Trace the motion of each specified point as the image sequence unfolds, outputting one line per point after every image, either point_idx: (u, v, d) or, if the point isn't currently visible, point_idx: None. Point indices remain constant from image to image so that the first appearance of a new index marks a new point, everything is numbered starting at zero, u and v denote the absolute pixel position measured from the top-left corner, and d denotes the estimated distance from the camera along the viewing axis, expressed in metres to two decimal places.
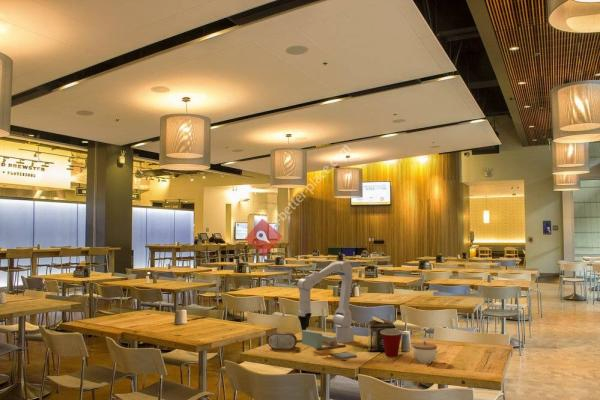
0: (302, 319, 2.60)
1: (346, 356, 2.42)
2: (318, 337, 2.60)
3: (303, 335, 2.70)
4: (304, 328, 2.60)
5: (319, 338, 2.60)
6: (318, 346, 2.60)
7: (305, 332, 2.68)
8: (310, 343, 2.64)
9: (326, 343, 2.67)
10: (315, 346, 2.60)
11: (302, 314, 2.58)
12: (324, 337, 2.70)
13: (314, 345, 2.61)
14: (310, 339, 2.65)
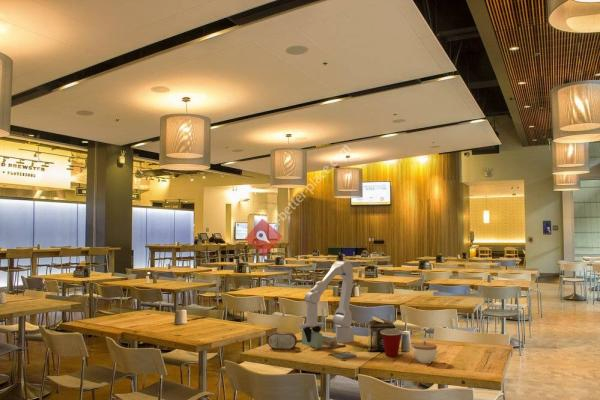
0: (307, 331, 2.66)
1: (346, 356, 2.42)
2: (318, 337, 2.60)
3: (303, 335, 2.70)
4: (308, 340, 2.64)
5: (319, 337, 2.60)
6: (318, 346, 2.60)
7: None
8: (310, 342, 2.64)
9: (326, 343, 2.67)
10: (315, 346, 2.60)
11: (300, 326, 2.63)
12: (324, 337, 2.70)
13: (314, 345, 2.61)
14: None
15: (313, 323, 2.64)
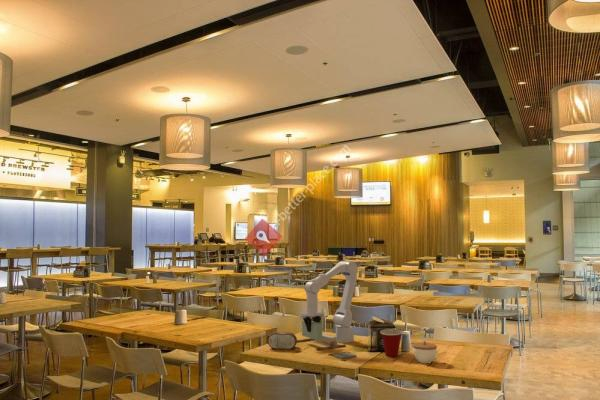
0: (307, 321, 2.66)
1: (346, 356, 2.42)
2: (318, 327, 2.60)
3: (303, 325, 2.70)
4: (308, 330, 2.65)
5: (319, 327, 2.61)
6: (318, 336, 2.60)
7: None
8: (310, 333, 2.65)
9: (326, 343, 2.67)
10: (315, 336, 2.61)
11: (300, 316, 2.63)
12: (324, 337, 2.70)
13: (314, 335, 2.61)
14: None
15: (313, 313, 2.64)
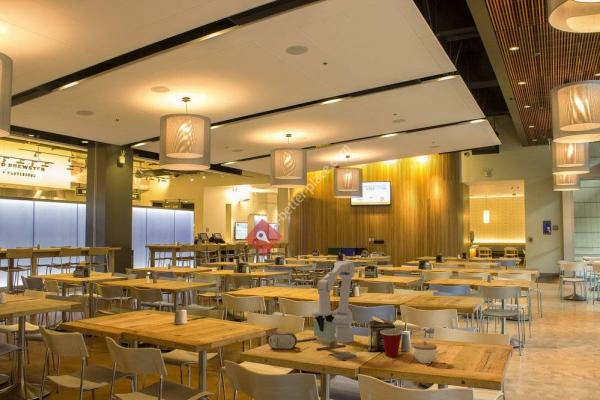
0: (319, 320, 2.58)
1: (346, 356, 2.42)
2: (331, 326, 2.53)
3: (315, 325, 2.63)
4: (321, 329, 2.57)
5: (332, 327, 2.53)
6: (331, 335, 2.52)
7: None
8: (322, 332, 2.57)
9: (326, 343, 2.67)
10: (328, 335, 2.53)
11: (312, 315, 2.55)
12: None
13: (327, 334, 2.54)
14: None
15: (326, 311, 2.57)
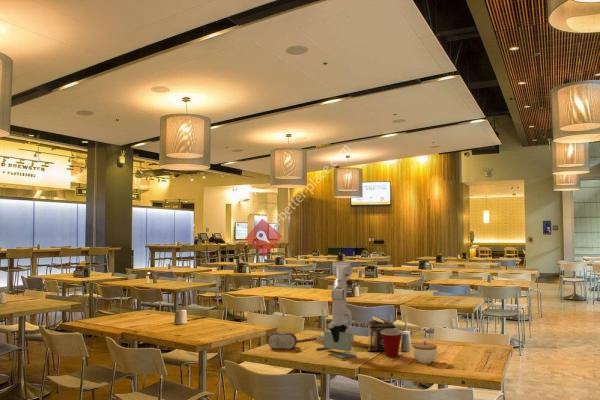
0: (334, 330, 2.49)
1: (346, 356, 2.42)
2: (348, 337, 2.46)
3: (326, 336, 2.53)
4: (336, 340, 2.48)
5: (349, 337, 2.46)
6: (348, 346, 2.46)
7: (329, 333, 2.52)
8: (337, 344, 2.49)
9: None
10: (345, 347, 2.46)
11: (329, 326, 2.46)
12: None
13: (343, 346, 2.46)
14: None
15: (341, 321, 2.49)
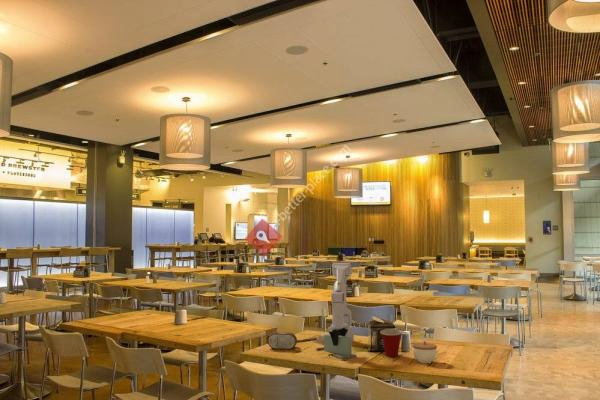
0: (333, 334, 2.49)
1: (346, 356, 2.42)
2: (348, 341, 2.46)
3: (326, 340, 2.53)
4: (335, 344, 2.48)
5: (349, 341, 2.46)
6: (348, 350, 2.45)
7: (329, 336, 2.52)
8: (337, 348, 2.49)
9: None
10: (345, 351, 2.46)
11: (329, 329, 2.46)
12: None
13: (343, 350, 2.46)
14: None
15: (341, 325, 2.49)
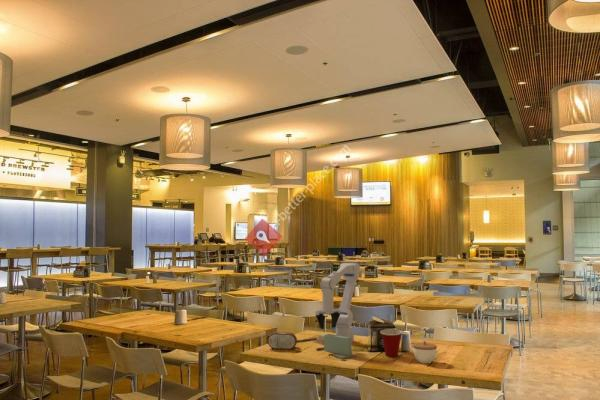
0: (320, 318, 2.63)
1: (346, 356, 2.42)
2: (348, 341, 2.46)
3: (326, 340, 2.53)
4: (321, 327, 2.62)
5: (349, 341, 2.46)
6: (348, 350, 2.45)
7: (329, 336, 2.52)
8: (337, 348, 2.49)
9: None
10: (345, 351, 2.46)
11: (316, 312, 2.61)
12: None
13: (343, 350, 2.46)
14: (336, 343, 2.49)
15: (329, 309, 2.62)
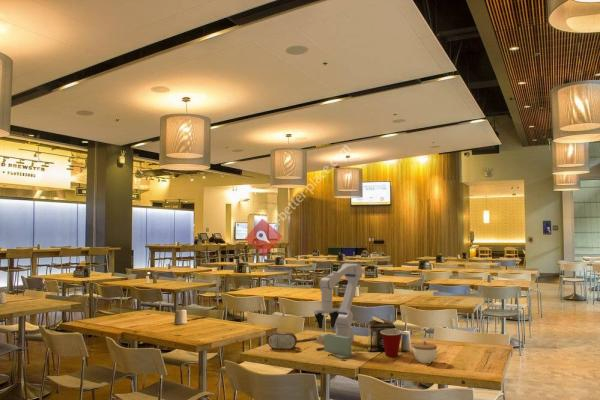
0: (319, 317, 2.64)
1: (346, 356, 2.42)
2: (348, 341, 2.46)
3: (326, 340, 2.53)
4: (320, 326, 2.63)
5: (349, 341, 2.46)
6: (348, 350, 2.45)
7: (329, 336, 2.52)
8: (337, 348, 2.49)
9: None
10: (345, 351, 2.46)
11: (315, 312, 2.62)
12: None
13: (343, 350, 2.46)
14: (336, 343, 2.49)
15: (328, 309, 2.63)
